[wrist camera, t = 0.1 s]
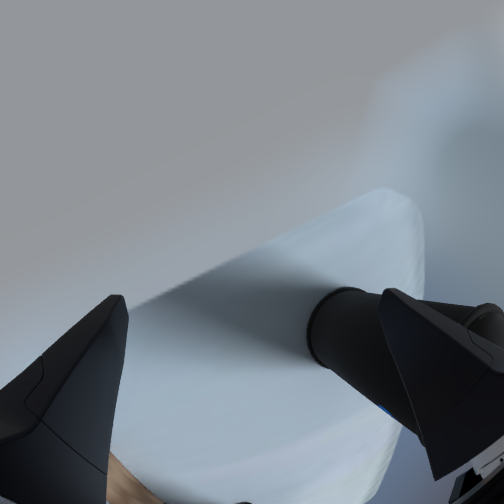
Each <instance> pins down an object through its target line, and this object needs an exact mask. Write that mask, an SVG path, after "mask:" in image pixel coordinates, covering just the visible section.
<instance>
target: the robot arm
mask: <svg viewBox="0 0 504 504" xmlns="http://www.w3.org/2000/svg"><path fill="white" fill-rule="evenodd" d="M377 312H378V315H379V318H380V321H381V324H382V327H383V330H384V333H385V337H386V340H387V343H388V346H389V348H390V351H391V353H392V355H393V358H394V360H395V363H396V365H397V368H398V370H399V373H400V375H401V378H402V381H403V383H404V386H405V388H406V391H407V394H408V397H409V399H410V402H411V405H412V408H413V411H414V414H415V416H416V419H417V422H418V426H419V429H420V432H421V435H422V439H423V442H424V445H425V449H426V452H427V455H428V459H429V463H430V466H431V470H432V474H433V478H434V480H435V481H437V480H439V479H441V478H442V477H444V476H446V475H448V474H449V473H451V472H453V471H454V470H456V469H458V468H459V467H461V466H462V465H464V464H465V463H467V462H468V461H470V463H471V464H472V467H470V468H469V469H468V470H467V471H465V472H464V473H462V474H461V475H460V476H458V477H457V478H456V481H455V484H454V487H453V490H452V493H451V496H450V499H449V504H504V349H502V348H500V347H499V346H497V345H495V344H493V343H491V342H489V341H487V340H485V339H484V338H482V337H480V336H478V335H477V334H475V333H473V332H472V331H470V330H468V329H466V328H465V327H463V326H461V325H460V324H458V323H456V322H454V321H453V320H451V319H449V318H448V317H446V316H444V315H442V314H441V313H439V312H437V311H435V310H434V309H432V308H430V307H428V306H427V305H425V304H423V303H421V302H419V301H418V300H416V299H414V298H412V297H411V296H409V295H407V294H405V293H403V292H401V291H400V290H398V289H396V288H387V289H385V290H384V291H383V293H382V296H381V298H380V301H379V303H378V306H377ZM128 322H129V316H128V312H127V308H126V304H125V300H124V297H123V296H122V295H110V296H108V297H107V298H106V299H105V300H103V302H101V303H100V304H99V305H97V306H96V307H95V308H94V309H93V310H91V311H90V312H89V313H88V314H87V315H86V316H84V317H83V318H82V319H81V320H80V321H79V322H77V323H76V324H75V325H74V326H73V327H72V328H71V329H69V330H68V331H67V332H66V333H65V334H64V335H63V336H61V337H60V338H59V339H58V340H57V341H56V342H55V343H54V344H52V345H51V346H50V347H49V348H48V349H47V350H46V351H45V352H44V353H43V354H42V356H39V357H38V358H37V359H36V360H35V361H34V362H33V363H32V364H31V365H29V366H28V367H27V368H26V369H25V370H24V371H23V372H22V373H20V374H19V375H18V376H17V377H16V378H14V379H13V380H12V381H11V382H10V383H8V384H7V385H6V386H5V387H3V388H2V389H1V390H0V504H106V492H107V474H108V462H109V452H110V443H111V435H112V428H113V421H114V414H115V408H116V402H117V396H118V390H119V385H120V380H121V375H122V370H123V364H124V357H125V348H126V338H127V330H128ZM247 504H251V503H247Z"/></svg>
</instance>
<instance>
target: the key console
mask: <svg viewBox="0 0 504 504" xmlns="http://www.w3.org/2000/svg"><path fill="white" fill-rule="evenodd" d="M106 501H107V502H108V503H109V504H165V503H163V502H162V501H161V500H160V499H159V498H157V497H156V496H155V495H154V494H153V493H152V492H150V491H149V490H148V489H147V488H146V487H145V486H144V485H143V484H142V483H141V482H139V481H138V480H137V479H136V478H135V477H134V476H133V475H132V474H131V473H130V472H129V471H128V470H127V469H126V468H125V467H124V466H123V465H122V464H121V463H120V462H119V461H118V459H117V458H116V457H115V456H114V455H113V454H112V453H111V452H109V462H108V474H107V492H106Z"/></svg>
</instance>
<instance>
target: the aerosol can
mask: <svg viewBox="0 0 504 504" xmlns="http://www.w3.org/2000/svg"><path fill="white" fill-rule="evenodd" d="M381 296H382V295H381V294H374V293H367V292H365V291H364V290H361V289H359V288H353V287H348V288H342V289H338V290H336V291H334V292H332V293H330V294H328V295H327V296H326V297H325V298H323V299H322V300H321V301H320V302H319V304H318V305H317V306H316V308H315V309H314V311H313V313H312V314H311V317H310V320H309V322H308V327H307V343H308V348H309V350H310V353H311V355H312V356H313V358H314V359H315V360H316V361H317V362H318V363H319V364H320V365H321V366H323V367H325V368H327V369H331V370H332V371H333V372H335V373H336V374H337V375H338V376H340V377H341V378H342V379H343V380H345V381H346V382H347V383H348V384H350V385H351V386H352V387H353V388H355V389H356V390H357V391H359V392H360V393H361V394H362V395H364V396H365V397H366V398H368V399H369V400H370V401H372V402H373V403H374V404H376V405H377V406H378V407H379V408H381V409H382V410H383V411H385V412H386V413H387V414H389V415H390V416H391V417H393V418H394V419H395V420H397V421H398V422H400V423H401V424H402V425H404V426H405V427H406V428H408V429H409V430H411V431H412V432H413V433H415V434H416V435H417V436H418V438H419V440H420V442H421V444H422V445H423V446H424V447H425V445H424V442H423V439H422V435H421V432H420V429H419V426H418V422H417V419H416V416H415V414H414V411H413V408H412V405H411V402H410V399H409V397H408V394H407V391H406V388H405V386H404V383H403V381H402V378H401V375H400V373H399V370H398V368H397V365H396V363H395V360H394V358H393V355H392V353H391V351H390V348H389V346H388V343H387V340H386V337H385V333H384V330H383V327H382V324H381V321H380V318H379V315H378V312H377V306H378V303H379V301H380V298H381ZM418 301H419V302H421V303H423V304H425V305H427V306H428V307H430V308H432V309H434V310H435V311H437V312H439V313H441V314H442V315H444V316H446V317H448V318H449V319H451V320H453V321H454V322H456V323H458V324H460V325H461V326H463V327H465V328H466V329H468V330H470V331H472V332H473V333H475V334H477V335H478V336H480V337H482V338H484V339H485V340H487V341H489V342H491V343H493V344H495V345H497V346H499V347H500V348H502V349H504V312H503V310H502V309H501V308H500V307H498V306H497V305H495V304H492V303H485V304H482V305H479V306H477V307H471V306H463V305H455V304H446V303H439V302H431V301H424V300H418Z"/></svg>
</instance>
